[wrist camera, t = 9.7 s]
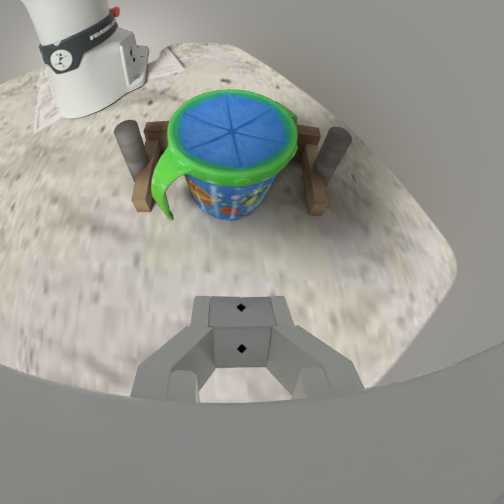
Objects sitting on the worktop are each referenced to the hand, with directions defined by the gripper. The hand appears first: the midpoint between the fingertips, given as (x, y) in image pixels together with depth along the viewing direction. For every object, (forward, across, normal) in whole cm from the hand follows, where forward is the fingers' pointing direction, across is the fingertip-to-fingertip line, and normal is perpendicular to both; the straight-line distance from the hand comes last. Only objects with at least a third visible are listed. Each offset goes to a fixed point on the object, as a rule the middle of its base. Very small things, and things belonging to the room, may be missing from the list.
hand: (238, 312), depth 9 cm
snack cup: (+22, 0, +1) cm, 22 cm away
